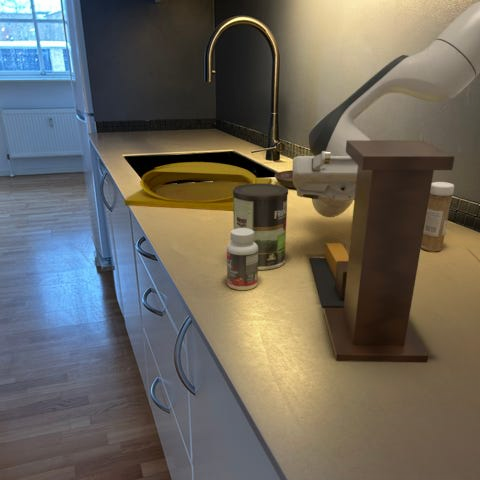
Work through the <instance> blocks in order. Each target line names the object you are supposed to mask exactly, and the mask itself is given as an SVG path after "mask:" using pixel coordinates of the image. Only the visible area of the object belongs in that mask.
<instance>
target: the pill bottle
mask: <svg viewBox="0 0 480 480" xmlns="http://www.w3.org/2000/svg"><path fill="white" fill-rule="evenodd" d="M229 237H230V238H229V239H230V242H229V243H228V244H227V245H226V282H227V283H226V284H227V286H228V287H229V288H231V289H232V290H237V291H249V290H252V289H254V288H256V287H257V286H258V280H259V270H258V245H257V244H256V243H255V242H253V241H254V231H253V230H251V229H248V228H237V229H234V228H233V229H231V230H230V236H229Z"/></svg>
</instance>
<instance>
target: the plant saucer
mask: <svg viewBox="0 0 480 480" xmlns="http://www.w3.org/2000/svg"><path fill="white" fill-rule="evenodd" d="M274 177H275V179H276V181H277V182H278V184H280V186H284V187H286V188H288V189H289V188H290V189H296V188H295V187H294V184H293V169H291V170H290V169H289V170H282V171H279V172H276V173H275V174H274Z"/></svg>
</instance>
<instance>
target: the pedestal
mask: <svg viewBox="0 0 480 480" xmlns="http://www.w3.org/2000/svg"><path fill="white" fill-rule="evenodd" d="M346 153H347V154H348V155H349V156H350V157H351V158H352V159H353V160H354V161H355V163H356V164H357V165H358V170H357V179H356V189H355V199H354V200H353V210H352V220H351V229H350V239H349V249H348V255H349V259H348V269H347V279H346V288H345V298H344V308H323V316H324V320H325V323H326V327H327V331H328V335H329V340H330V342H331V346H332V351H333V354H334V358H335V361H337V362H338V361H339V362H401V363H402V362H404V363H405V362H407V363H408V362H409V363H411V362H412V363H428V360H429V353H428V352H427V350H426V349H425V348H426V347H424V344H423V343H422V342H421V340H420V338H419V336H418V335H417V333H416V331H415V329H414V328H413V326H412V324H411V323H410V321H409V320H410V316H411V315H410V314H411V309H412V304H413V303H412V302H413V297H414V291H415V285H416V279H417V274H418V267H419V261H420V256H421V255H420V254H421V249H422V248H421V244H422V238H423V232H424V226H425V220H426V214H427V208H428V202H429V196H430V190H431V184H432V183H433V177H434V172H435V171H453V168H454V162H455V158H456V157H455V156H454V155H453V154H451V153H449V152H447V151H445V150H442V149H441V148H439V147H437V146H434V145H433V144H431V143H429V142H427V141H425V140H398V139H397V140H393V139H392V140H388V139H387V140H386V139H385V140H384V139H383V140H382V139H381V140H379V139H378V140H374V139H373V140H372V139H370V140H347V142H346Z"/></svg>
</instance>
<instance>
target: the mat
mask: <svg viewBox="0 0 480 480" xmlns="http://www.w3.org/2000/svg"><path fill="white" fill-rule="evenodd" d="M309 263H310V266H311V270H312V274H313V278H314V281H315V285H316V289H317V294H318V297H319V302H320V304H321V308H322V309H324V308H344V300H340V298H339V296H338V294H337V292H336V290H335V277H334V275H333V273H332V271H331V269H330V267H329V265H328V263H327V261H326V259H325V257H309Z"/></svg>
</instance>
